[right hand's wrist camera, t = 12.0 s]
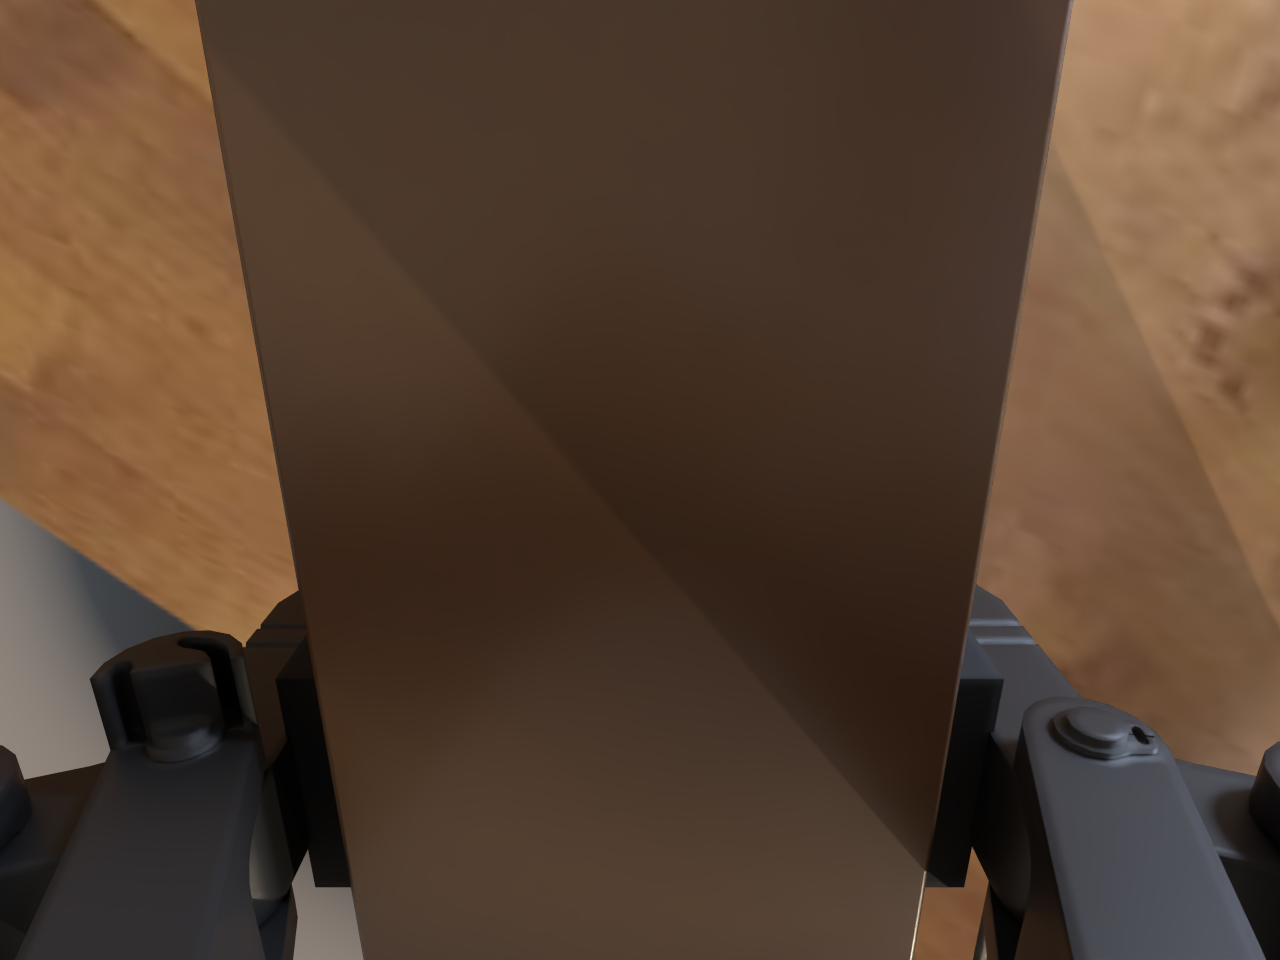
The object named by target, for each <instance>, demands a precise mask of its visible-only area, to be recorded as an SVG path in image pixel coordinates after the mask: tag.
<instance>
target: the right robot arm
mask: <svg viewBox="0 0 1280 960" xmlns="http://www.w3.org/2000/svg"><path fill="white" fill-rule="evenodd" d="M90 681H91V685H92V688H93V692H94V695H95V698H96V702H97V705H98V709H99V712H100V716H101V719H102V723H103V726H104V729H105V733H106V736H107V740H108V743H109V746H110V750H111V751H110V753H109V755H108V757H107V760H106V762H104V763H100V764H96V765H93V766H89V767H84V768H79V769H74V770H69V771H64V772H59V773H55V774H50V775H45V776H40V777H35V778H30V779H26V780H24V778H23V775H22V772H21V769H20V766H19V764H18V761H17V758H16V755H15V754H14V753H12V752H11V751H9V750H8V749H7V748H5V747H4V746H1V745H0V960H293V955H294V946H295V936H296V928H297V919H298V917H297V910H296V904H295V898H294V893H293V888H292V881H293V879H294V877H295V875H296V873H297V871H298V869H299V867H300V864H301V862H302V860H303V858H304V856H305V854H306V852H307V850H308V851H309V856H310V862H311V867H312V872H313V877H314V882H315V887H351V884H350V879H349V873H348V867H347V862H346V856H345V850H344V845H343V839H342V833H341V828H340V822H339V816H338V810H337V805H336V799H335V793H334V788H333V782H332V776H331V771H330V765H329V759H328V754H327V748H326V742H325V737H324V731H323V725H322V720H321V714H320V708H319V702H318V697H317V691H316V685H315V680H314V674H313V668H312V663H311V657H310V651H309V646H308V640H307V634H306V629H305V623H304V617H303V611H302V606H301V600H300V594H299V590H298V591H297V592H295V593H294V594H292V595H290V596H289V597H287V598H286V599H284V600H282V601H281V602H279V603H278V604H277V605H276V606H275V608H274V609H273V610H272V611H271V613H270V614H269V615H268V616H267V618H266V619H265V620H264V621H263V622H262V624H261V628H260V629H257V630H256V631H255V632H254V634H253V635H252V636H251V637H250V638H249V640H248V641H247V642H246V647H242V643H241V642H239V641H238V640H237V639H235V638H234V637H232V636H231V635H230V634H225V633H220V632H215V631H210V630H208V631H187V632H180V633H175V634H171V635H166V636H161V637H157V638H153V639H151V640H148V641H146V642H143V643H141V644H138V645H136V646H133V647H130V648H128V649H126V650H124V651H123V652H121V653H119V654H118V655H116V656H115V657H113V658H111V659H110V660H108V661H107V662H105V663H104V664H103V665H102V666H101V667H100V668H99V669H98V670H97V671H96V673H95V674H94V675H93V676H92V677H91V678H90ZM972 847H973V849H974V851H975V853H976V855H977V857H978V859H979V861H980V863H981V866H982V868H983V870H984V872H985V874H986V876H987V878H988V880H989V883H988V888H987V893H986V898H985V903H984V908H983V912H982V917H981V922H980V927H979V932H978V937H977V941H976V946H975V951H974V957H973V960H985V959H986V954H987V960H1280V742H1277V743H1276V744H1274V745H1273V746H1271V747H1270V748H1269V749H1267V750H1266V751H1265V753H1264V756H1263V759H1262V761H1261V764H1260V767H1259V770H1258V773H1257V776H1253V775H1248V774H1243V773H1238V772H1233V771H1229V770H1224V769H1219V768H1214V767H1209V766H1204V765H1199V764H1194V763H1189V762H1186V761H1182V760H1178V759H1174V758H1173V756H1172V754H1171V751H1170V749H1169V748H1168V747H1167V745H1166V744H1165V743H1164V741H1163V740H1162V739H1161V738H1160V736H1159V735H1158V734H1157V732H1155V731H1154V730H1153V729H1151V728H1150V727H1149V726H1147V725H1146V724H1144V723H1143V722H1142V721H1140V720H1139V719H1137V718H1136V717H1135V716H1132V715H1130V714H1128V713H1126V712H1124V711H1121V710H1119V709H1117V708H1115V707H1113V706H1110V705H1108V704H1104V703H1100V702H1096V701H1092V700H1088V699H1084V698H1081V696H1080V695H1079V694H1078V693H1077V692H1076V690H1075V689H1074V688H1073V687H1072V685H1071V684H1070V683H1069V682H1068V681H1067V679H1066V678H1065V677H1064V676H1063V674H1062V673H1061V672H1060V671H1059V670H1058V668H1057V667H1056V666H1055V665H1054V664H1053V662H1052V661H1051V660H1050V659H1049V657H1048V656H1047V655H1046V654H1045V653H1044V651H1043V650H1042V649H1041V648H1040V646H1039V645H1038V644H1034V639H1033V638H1032V637H1031V635H1030V634H1029V633H1028V632H1027V631H1026V629H1025V628H1024V627H1023V626H1020V625H1019V621H1018V620H1017V618H1016V617H1015V616H1014V615H1013V613H1012V612H1011V611H1010V610H1009V609H1008V607H1007V606H1006V605H1005V604H1004V603H1003V601H1002V600H1000V599H999V598H997V597H996V596H994V595H992V594H991V593H989V592H987V591H986V590H984V589H983V588H981V587H979V586H978V585H976V586H975V592H974V598H973V604H972V610H971V616H970V622H969V628H968V634H967V640H966V646H965V652H964V657H963V663H962V669H961V675H960V681H959V687H958V693H957V699H956V705H955V711H954V717H953V723H952V729H951V735H950V741H949V747H948V753H947V759H946V765H945V771H944V777H943V783H942V789H941V795H940V801H939V807H938V813H937V819H936V825H935V831H934V837H933V843H932V849H931V855H930V861H929V867H928V873H927V879H926V885H925V887H964V885H965V880H966V874H967V869H968V864H969V859H970V854H971V849H972Z"/></svg>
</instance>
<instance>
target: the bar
mask: <svg viewBox="0 0 1280 960" xmlns="http://www.w3.org/2000/svg"><path fill="white" fill-rule="evenodd" d="M195 3H196V9H197V14H198V20H199V26H200V32H201V37H202V43H203V49H204V54H205V60H206V66H207V71H208V77H209V83H210V88H211V94H212V100H213V105H214V111H215V117H216V122H217V128H218V134H219V140H220V145H221V151H222V157H223V162H224V168H225V174H226V179H227V185H228V191H229V196H230V202H231V208H232V213H233V219H234V225H235V231H236V236H237V242H238V248H239V253H240V259H241V265H242V270H243V276H244V282H245V287H246V293H247V299H248V304H249V310H250V316H251V321H252V327H253V333H254V339H255V344H256V350H257V356H258V361H259V367H260V373H261V378H262V384H263V390H264V395H265V401H266V407H267V412H268V418H269V424H270V430H271V435H272V441H273V447H274V452H275V458H276V464H277V469H278V475H279V481H280V486H281V492H282V498H283V503H284V509H285V515H286V520H287V526H288V532H289V538H290V543H291V549H292V555H293V560H294V566H295V572H296V577H297V583H298V589H299V594H300V600H301V606H302V611H303V617H304V623H305V629H306V634H307V640H308V646H309V651H310V657H311V663H312V668H313V674H314V680H315V685H316V691H317V697H318V702H319V708H320V714H321V720H322V725H323V731H324V737H325V742H326V748H327V754H328V759H329V765H330V771H331V776H332V782H333V788H334V793H335V799H336V805H337V810H338V816H339V822H340V828H341V833H342V839H343V845H344V850H345V856H346V862H347V867H348V873H349V879H350V884H351V890H352V896H353V901H354V907H355V913H356V919H357V924H358V930H359V935H360V941H361V947H362V952H363V958H364V960H913V956H914V950H915V945H916V939H917V933H918V927H919V921H920V915H921V909H922V903H923V897H924V891H925V885H926V879H927V873H928V867H929V861H930V855H931V849H932V843H933V837H934V831H935V825H936V819H937V813H938V807H939V801H940V795H941V789H942V783H943V777H944V771H945V765H946V759H947V753H948V747H949V741H950V735H951V729H952V723H953V717H954V711H955V705H956V699H957V693H958V687H959V681H960V675H961V669H962V663H963V657H964V652H965V646H966V640H967V634H968V628H969V622H970V616H971V610H972V604H973V598H974V592H975V586H976V580H977V574H978V568H979V562H980V556H981V550H982V544H983V538H984V532H985V526H986V520H987V514H988V508H989V502H990V496H991V490H992V484H993V478H994V472H995V466H996V460H997V454H998V448H999V442H1000V436H1001V430H1002V424H1003V418H1004V412H1005V406H1006V400H1007V394H1008V388H1009V382H1010V376H1011V370H1012V365H1013V359H1014V353H1015V347H1016V341H1017V335H1018V329H1019V323H1020V317H1021V311H1022V305H1023V299H1024V293H1025V287H1026V281H1027V275H1028V269H1029V263H1030V257H1031V251H1032V245H1033V239H1034V233H1035V227H1036V221H1037V215H1038V209H1039V203H1040V197H1041V191H1042V185H1043V179H1044V173H1045V167H1046V161H1047V155H1048V149H1049V143H1050V137H1051V131H1052V125H1053V119H1054V113H1055V107H1056V101H1057V95H1058V89H1059V83H1060V77H1061V72H1062V66H1063V60H1064V54H1065V48H1066V42H1067V36H1068V30H1069V24H1070V18H1071V12H1072V6H1073V0H195Z"/></svg>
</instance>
